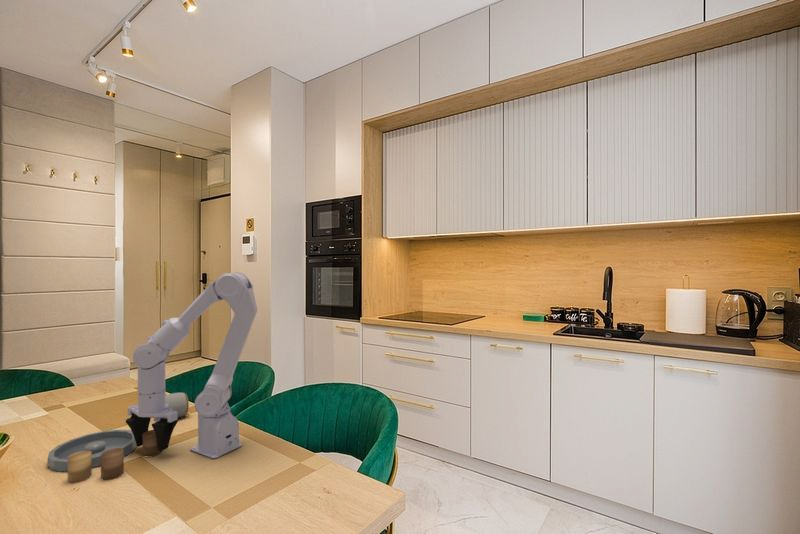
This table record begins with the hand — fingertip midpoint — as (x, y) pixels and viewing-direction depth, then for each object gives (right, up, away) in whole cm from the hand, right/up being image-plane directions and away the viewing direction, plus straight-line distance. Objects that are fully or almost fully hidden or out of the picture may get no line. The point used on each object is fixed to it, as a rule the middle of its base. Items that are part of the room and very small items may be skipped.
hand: (152, 447), depth 96 cm
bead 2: (-2, -2, -10) cm, 11 cm away
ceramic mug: (-9, -2, +23) cm, 25 cm away
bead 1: (-9, -2, -11) cm, 14 cm away
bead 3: (0, -2, 0) cm, 2 cm away
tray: (-14, -2, 0) cm, 14 cm away
